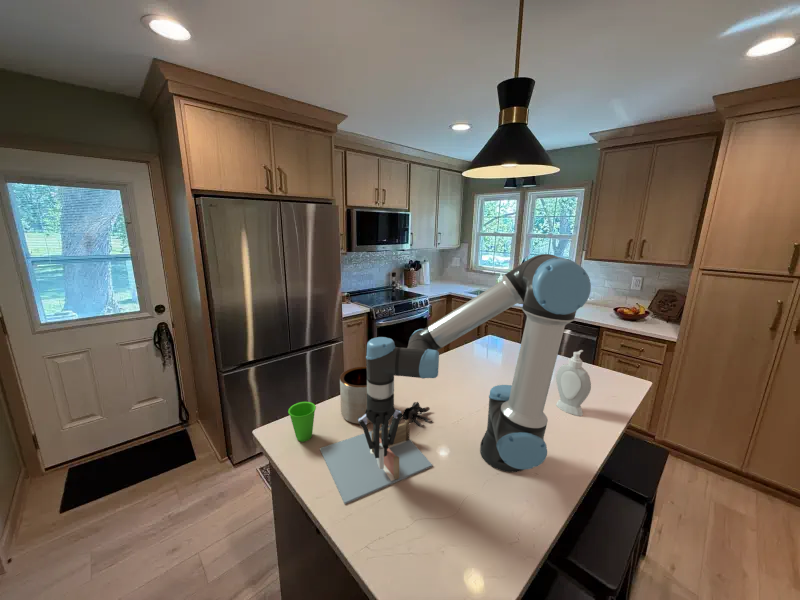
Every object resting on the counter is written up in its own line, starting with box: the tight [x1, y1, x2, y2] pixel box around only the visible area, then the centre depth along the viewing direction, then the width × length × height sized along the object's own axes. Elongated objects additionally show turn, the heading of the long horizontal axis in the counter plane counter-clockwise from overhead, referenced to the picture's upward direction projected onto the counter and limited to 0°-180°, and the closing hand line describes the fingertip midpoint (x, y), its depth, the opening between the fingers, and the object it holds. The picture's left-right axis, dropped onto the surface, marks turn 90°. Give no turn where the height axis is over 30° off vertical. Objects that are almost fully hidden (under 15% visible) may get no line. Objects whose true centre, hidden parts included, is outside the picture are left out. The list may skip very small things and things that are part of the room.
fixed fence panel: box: [371, 420, 411, 453], centre depth 106 cm, size 2×14×8 cm, turn 119°
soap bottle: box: [555, 349, 592, 417], centre depth 125 cm, size 13×8×24 cm, turn 39°
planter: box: [339, 365, 373, 425], centre depth 124 cm, size 18×18×16 cm
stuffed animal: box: [402, 401, 434, 428], centre depth 124 cm, size 12×10×12 cm
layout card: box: [319, 424, 433, 505], centre depth 101 cm, size 24×28×1 cm
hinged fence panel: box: [379, 437, 399, 479], centre depth 96 cm, size 13×2×6 cm, turn 32°
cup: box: [287, 401, 317, 443], centre depth 110 cm, size 9×9×11 cm
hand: (380, 465), depth 94 cm, fingers closed
